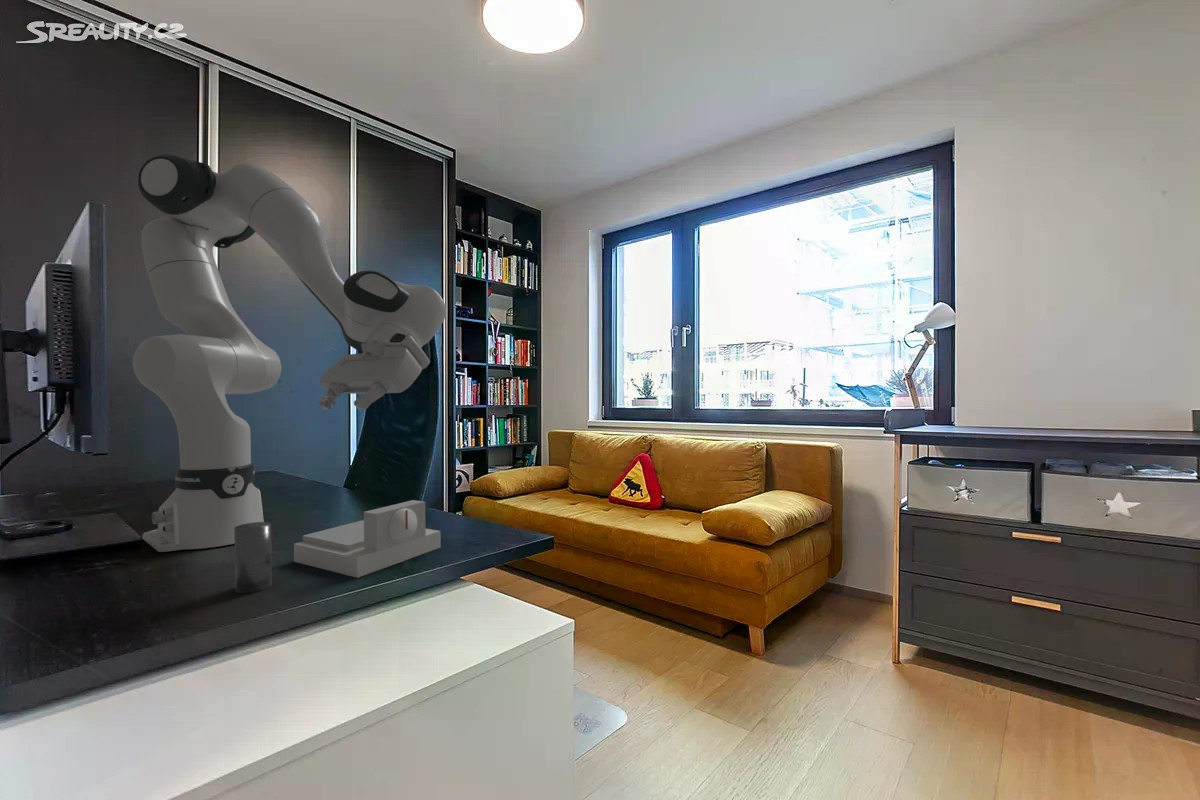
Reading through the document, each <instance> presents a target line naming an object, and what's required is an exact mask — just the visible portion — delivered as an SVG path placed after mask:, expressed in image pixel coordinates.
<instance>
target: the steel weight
mask: <svg viewBox="0 0 1200 800" xmlns="http://www.w3.org/2000/svg"><path fill="white" fill-rule="evenodd" d="M271 523H272V522H268V521H264V522H254V523H247V524H242V525H239V526H236V527H235V528H234V537H235V543H234V576H235V577H234V580H235V581H234V582H235V584H234V585H235V587H234V588H235V590H234V592H235V593H236V594H240V595H241V594H242V595H243V594H252V593H253V594H254V593H259V592H262V591H265V590H267V589H269V588H271V587H272V585H273V573H272V571H273V568H272V567H273V566H272V565H273V564H272V563H273V562H272V560H273V559H272V524H271Z"/></svg>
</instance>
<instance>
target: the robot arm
mask: <svg viewBox="0 0 1200 800" xmlns="http://www.w3.org/2000/svg"><path fill="white" fill-rule="evenodd" d="M137 186H138V187H137V188H138V190H139V192H140V194H141V195H142V197H144V199H145V200H146V201H148V202H149V203H150V204H151V206H153V207H155V208H156V209H158V210H159V211H160V212H162V213H164V214H166V216H164V217H160V218H156V219H152V220H151V221H149V222H148V223H147V224H145V225H144V227H143V229H142V231H141V247H142V248H141V249H142V251H141V252H142V256H143V263H144V267H145V270H146V274H147V277H148V280H149V283H150V286H151V288H152V289H151V290H152V293H153V295H154V299H155V301H156V304H157V307H158V310H159V313H160V314H161V316H162V317H163V318H164V319H165V320H166V321H167V322H169V323H170V324H172V325H173V326H176V327H177V328H179V329H180V330H182V332H184V333H185V334H184V333H182V334H181V333H177V334H165V335H158V336H157V335H156V336H151V337H148V338H146V339H145V340H142V342H141V343H140V344H139V345H138V347H137V348H136V349H135V352H134V354H133V357H132V368H133V372H134V375H135V376H136V378H137V380H138V382H140V384H141V385H142V386H143V387H145V388H147V389H148V390H149V391H151V392H152V393H154V394H155V395H156V396H158V397H159V398H160V400H161V401H162V402H163V403H164V404H165V405H166V407H167V409H168V410H169V411H170V413H171V416H172V417H173V420H174V422H175V425H176V428H177V429H176V430H177V435H178V438H177V439H178V446H179V468H178V469H177V470H176V475H175V478H174V480H175V482H174V488H175V490H174V491H173V492H172V493H171V494H170V496H168V497H167V499H166V500H165V501H164V502H163V503H162V504H161V505H160V506H159V507H158V511H153V512H152V513H151V520H152V524H153V525H157V528H156V529H153V530H149V531H146V532H143V533H142V540H144V541H145V542H146V543H147V544H148V545H150V546H151V548H153V549H154V550H156V551H157V552H158V553H164V552H173V551H180V550H181V551H183V550H198V549H199V550H200V549H208V548H209V549H211V548H216V547H222V546H224V547H225V546H228V545H233V544H234V545H235V537H234V528H235V527H236V526H239V525H242V524H247V523H254V522H265V521H264V514H263V513H264V512H263V504H262V496H261V495H262V494H261V491H260V489H259V488H258V487H256V486H255V485H254V484H253V482H254V481H255V473H256V471H255V469H254V468H255V466H254V463H253V462H252V439H251V438H252V437H251V426H250V425H249V423H248V422H247V420H245V419H244V418H242V417H240V416H238V415H236V414H235V413H234V412H233V410H231V408H230V405H229V404H228V402H227V397H226V395H249V394H253V393H257V392H262V391H267V390H269V389H271V388H273V387H274V386H276V384H277V383H278V382H279V380H280V377H281V373H282V363H281V358H280V357H279V355H278V354H277V352H276V351H275V350H274V349H273V348H271V347H270V346H268V345H266V344H265V343H263V342H262V341H261V340H260V339H259V338H258V337H256V335H255V334H254V333H253V332H252V331H251V330H250V329H249V328H248V327H247V326H246V324H245V323H244V322H243V320H242V319H241V317H240V316H239V314H238V313H237V312H236V311H235V309H234V307H233V306H232V304H231V301H230V299H229V296H228V293H227V290H226V288H225V286H224V283H223V280H222V276H221V275H220V271H219V268H218V266H217V265H218V264H217V262H216V259H215V257H214V252H213V250H214V247H216V248H219V249H228V248H230V247H232V245H234V244H238V243H241V242H244V241H246V240H247V239H249V238H250V237H252V236H253V235H254V234H255V233H256V234H258V236H260V238H262V240H263V241H265V243H266V244H267V245H268V246H270V248H271V249H272V250H273V251H274V252H275V253H276V254H277V255H278V256H279V257H280V258H281V259H282V260H283V262H284V264H286V265H287V266H288V267H289V268H290V270H292V271H293V274H295V275H296V276H297V278H298V279H299V280H300V281H301V282H302V284H303V285H304V286H305V287H306V288H307V290H309V292H310V293H311V294H312V295H313V296H314V297H315V298H316V300H317V301H318V302H320V304H321V305H322V306H323V307H324V308H325V310H326V311H328V313H329V314H330V315H331V316H332V317H333V318H334V319H335V321H336V322H337V323H338V325H339V328H340V329H341V330H340V331H341V332H342V335H343V338H344V340H345V343H347V345H349V346H350V347H351V348H352V349H354V350H357V351H358V353H350V354H346V355H344V356H342V357H341V358H339V359H338V360H337V361H336V362H335V363H334V364H332V366H330V367H329V369H327V370H326V371H325V372H324V373H323V374H322V375H321V377H320V379H319V384H320V385H321V386H322V387H323V388H324V389H325V391H324V395H323V397H322V398H321V399H320V400H319V401H318V405H319V407H321V409H322V410H331V409H332V408H333V407H334V406H336V404H337V402H336V399H337V397H338V398H339V397H340V396H341V395H345V394H346V395H349V394H350V395H351V394H359V395H358V396H357V398H356V399H355V400H354V401H353V405H354V406H355V407H356V408H357V410H363V411H365V410H367V409H368V408H369V407H370V405H372V403H373V404H374V402H376V401H377V400H379V399H380V398H382V397H383V396H384V395H385V394H400V393H403V392H405V391H406V390H408V389H409V388H410V387H411V386H412V385H413V383H414V382H415V381H416V379H418V377H419V376H420V374H421V372H422V371H423V370H424V369H426V368H427V367H428V366H429V365H430V363H431V361H430V359H429V357H428V356H427V354H426V352H424V350H423V349H422V348H423V346H425V345H426V344H428V343H429V342H431V340H432V339H433V337H434V336H435V335H436V333H437V332H438V330H439V329H440V328H441V326H442V324H443V323H444V321H445V318H446V313H447V307H446V304H445V301H444V299H443V298H442V296H441V295H440V293H438V291H436V290H435V289H434V288H432V287H431V286H428V285H426V284H417V285H414V284H413V285H412V284H408V283H407V284H406V283H404V282H403V283H402V282H400V281H397V280H394V279H392V278H390V277H389V276H388V275H386V274H384V273H382V272H381V271H376V270H361V271H358V272H355V273H353V274H352V275H350V276H348V278H346V280H345V281H343V279H342V278H341V277H340V275H339V274H338V272H337V271H336V269H335V267H334V265H333V262H332V259H331V256H330V252H329V248H328V245H327V244H328V243H327V239H326V234H325V230H324V225H323V222H322V221H321V219H320V217H319V215H318V214H317V212H316V211H315V210H314V208H313V207H312V206H311V204H310V203H309V202H308V201H307V200H306V199H305V198H304V197H302V196H301V194H299V193H298V192H297V191H296V190H295V189H294V188H293V187H292V186H290V185H289V184H288V183H287V182H286V181H285V180H283V179H282V178H280V177H279V176H277V175H276V174H275V173H273V172H271V171H270V170H268V169H266V168H265V167H263V166H261V165H259V164H257V163H253V162H243V163H238V164H236V165H234V166H233V167H231V168H230V169H229V170H227V171H226V172H224V173H219V172H216V171H214V170H212V168H211V166H210V165H209V164H207V163H205V162H201V161H196V160H195V161H194V160H191V159H188V158H185V157H182V156H178V155H173V154H167V153H166V154H163V153H162V154H158V155H154V156H152V157H150V158H149V159H148V160H146V161H145V162H144V163H143V164H142V166H141V167H140V169H139V172H138V175H137ZM360 352H362V353H360ZM360 394H362V395H360Z"/></svg>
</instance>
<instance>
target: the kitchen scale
mask: <svg viewBox="0 0 1200 800" xmlns="http://www.w3.org/2000/svg"><path fill="white" fill-rule="evenodd" d="M441 531H442V530H438V529H433V528H432V529H431V528H426V501H423V500H415V499H412V500H407V501H404V502H399V503H396V504H391V505H388V506H382V507H378V508H375V509H371V510H366V511H363V520H359V521H358V520H357V521H354V522H351V523H346V524H344V525H343V524H342V525H338V526H334V527H330V528H327V529H322V530H319V531H314V532H312V533H308V534H304V535H302V541H300V542H296V543H293V561H294V562H295V563H298V564H302V565H306V566H310V567H313V568H318V569H322V570H325V571H330V572H333V573H337V574H341V575H345V576H348V577H353V578H360V577H363V576H366V575H369V574H371V573H375V572H378V571H380V570H383V569H386V568H388V567H392V566H394V565H396V564H399V563H402V562H405V561H407V560H410V559H413V558H416V557H418V556H421V555H423V554H424V555H425V554H427V553H430V552H432V551H436V550H438V549H441V548H442V547H441V543H442V542H441V541H442V539H441V534H442V532H441ZM294 562H293V563H294Z"/></svg>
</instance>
